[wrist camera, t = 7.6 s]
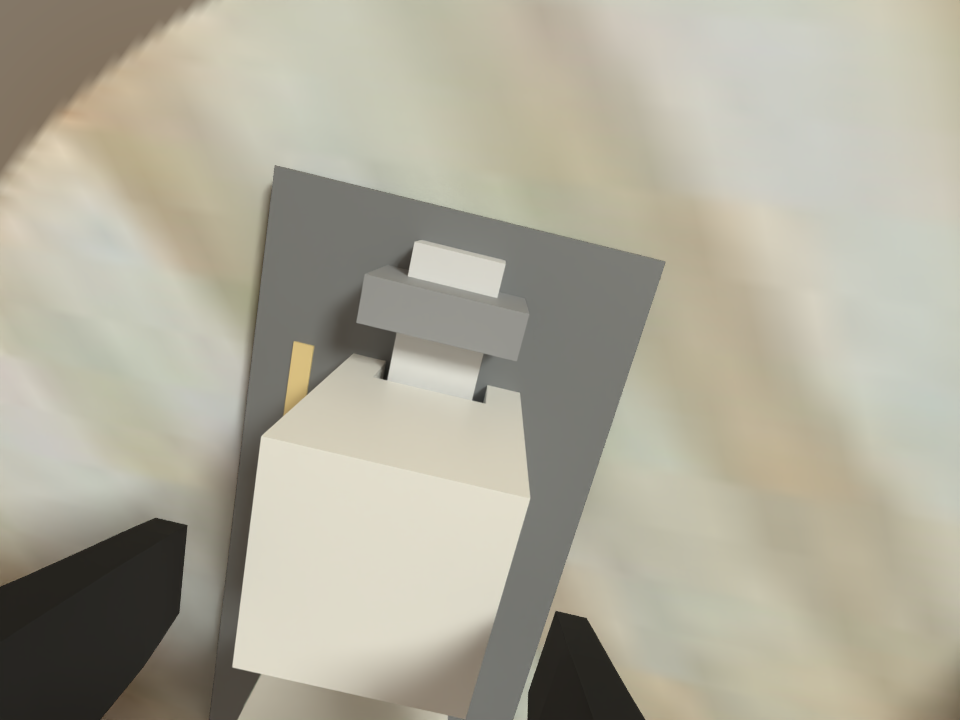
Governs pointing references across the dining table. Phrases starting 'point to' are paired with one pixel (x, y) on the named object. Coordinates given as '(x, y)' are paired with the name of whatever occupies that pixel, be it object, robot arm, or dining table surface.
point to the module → (382, 538)
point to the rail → (437, 385)
